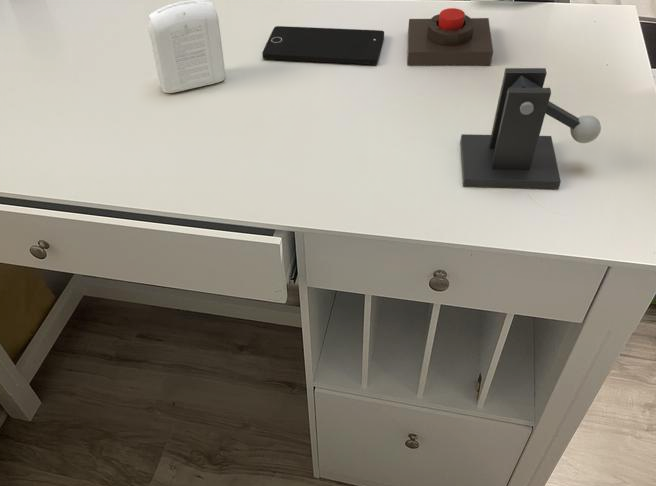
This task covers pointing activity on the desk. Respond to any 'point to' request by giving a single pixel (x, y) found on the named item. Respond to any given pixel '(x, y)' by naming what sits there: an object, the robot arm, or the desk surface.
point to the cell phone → (324, 45)
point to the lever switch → (567, 117)
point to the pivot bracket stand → (513, 140)
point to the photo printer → (187, 45)
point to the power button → (451, 19)
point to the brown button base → (449, 43)
